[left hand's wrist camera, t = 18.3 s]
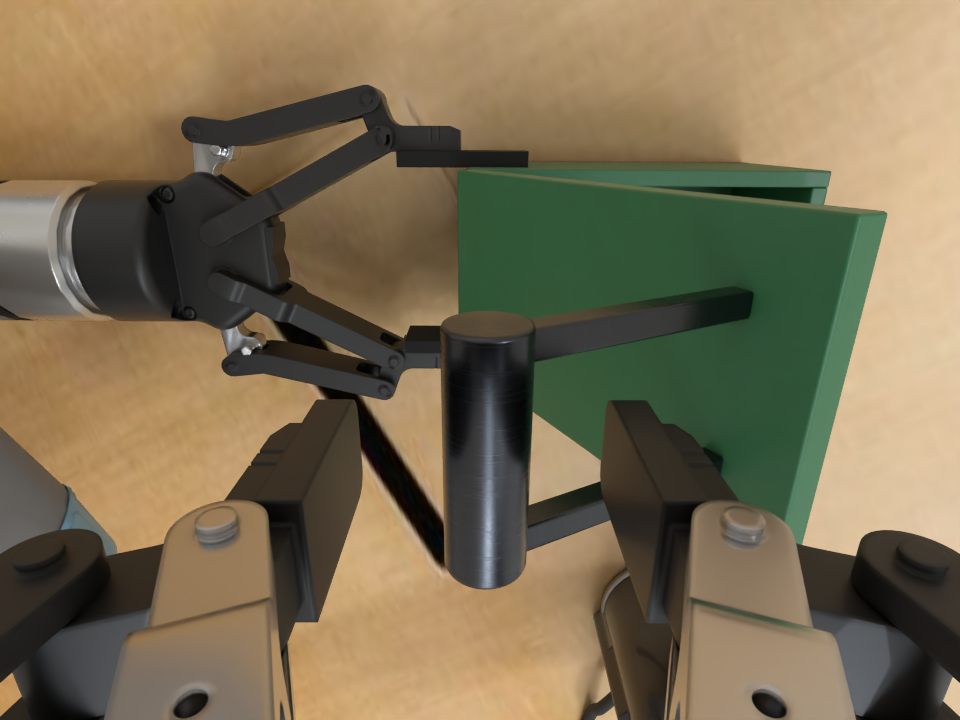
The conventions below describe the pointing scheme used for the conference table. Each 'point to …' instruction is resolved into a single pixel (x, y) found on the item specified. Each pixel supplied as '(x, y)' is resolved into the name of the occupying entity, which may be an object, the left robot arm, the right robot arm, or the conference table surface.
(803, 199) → the chest
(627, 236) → the lid
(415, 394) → the conference table surface
